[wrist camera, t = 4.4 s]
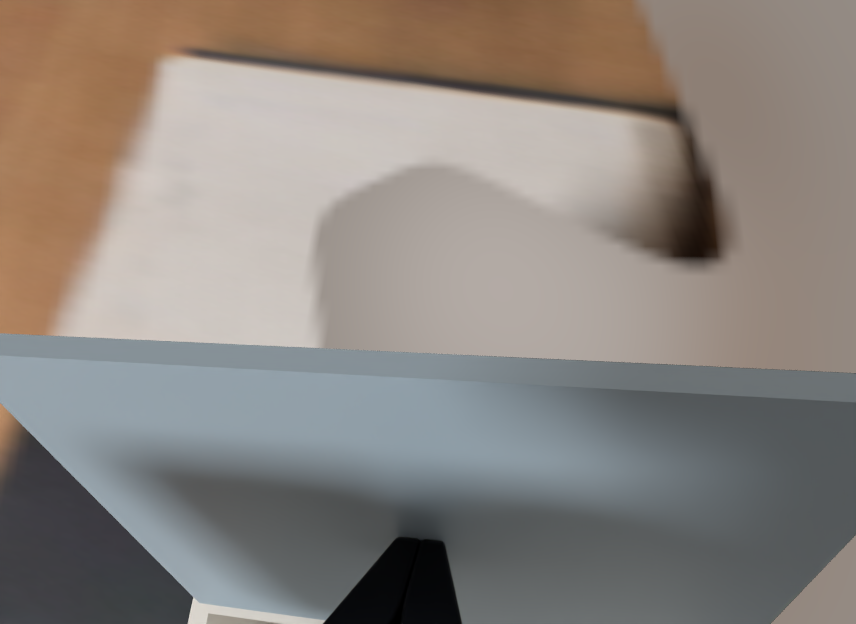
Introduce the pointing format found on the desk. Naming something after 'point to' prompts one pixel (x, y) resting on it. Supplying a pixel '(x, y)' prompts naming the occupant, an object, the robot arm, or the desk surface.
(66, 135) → the desk surface
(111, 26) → the desk surface
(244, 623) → the carton
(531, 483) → the flap
